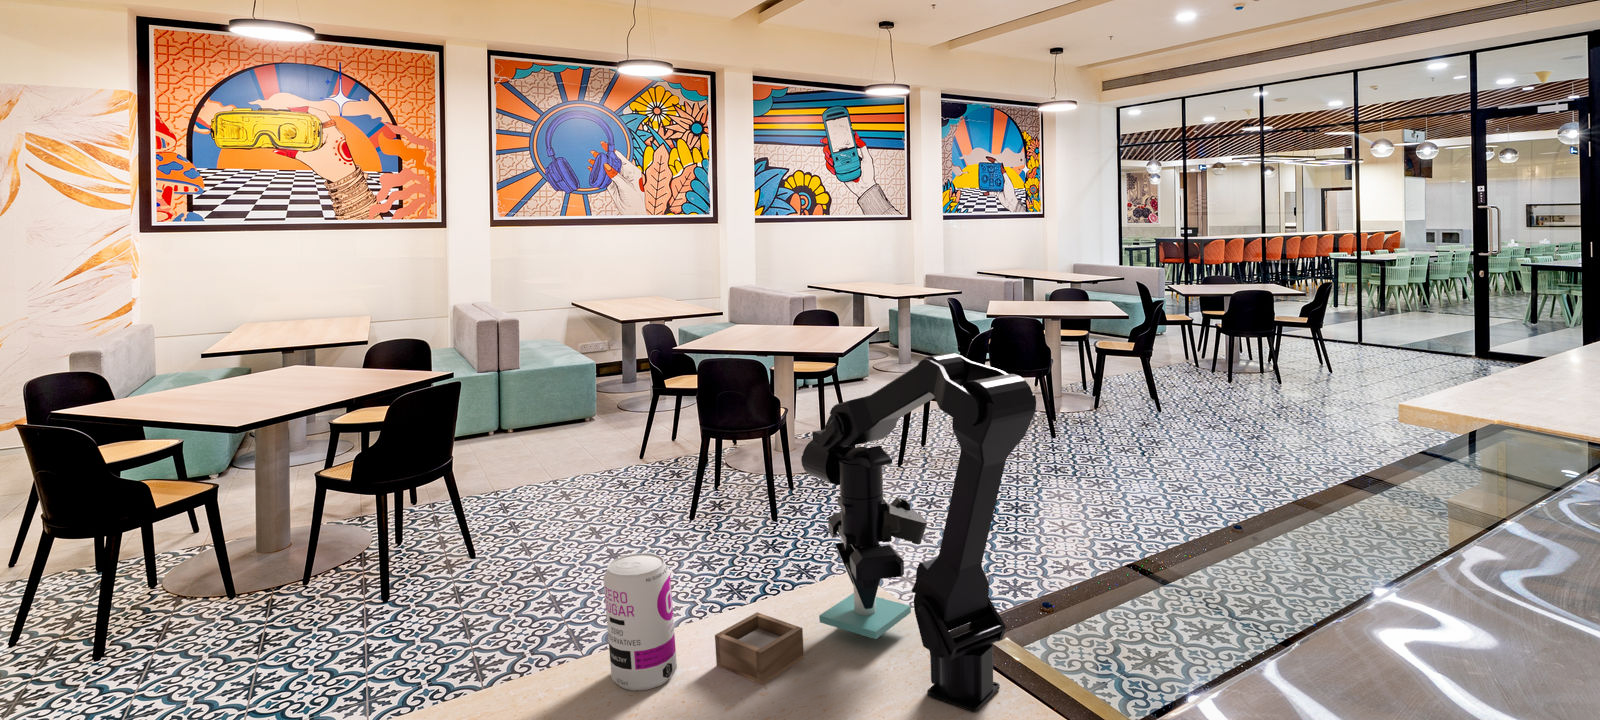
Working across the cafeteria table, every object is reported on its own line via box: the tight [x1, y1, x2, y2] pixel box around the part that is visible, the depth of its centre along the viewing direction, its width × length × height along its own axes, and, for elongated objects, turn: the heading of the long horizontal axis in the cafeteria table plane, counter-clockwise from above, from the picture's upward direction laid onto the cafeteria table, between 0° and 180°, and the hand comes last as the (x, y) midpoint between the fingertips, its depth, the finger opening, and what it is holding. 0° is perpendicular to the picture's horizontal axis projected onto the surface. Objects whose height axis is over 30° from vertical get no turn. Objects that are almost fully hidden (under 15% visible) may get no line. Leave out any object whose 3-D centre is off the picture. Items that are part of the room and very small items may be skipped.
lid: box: [818, 582, 912, 640], centre depth 117 cm, size 9×9×6 cm
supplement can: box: [603, 552, 678, 691], centre depth 108 cm, size 8×8×15 cm
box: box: [714, 611, 805, 686], centre depth 111 cm, size 8×8×4 cm
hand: (865, 603), depth 117 cm, fingers closed on lid, 3 cm apart
